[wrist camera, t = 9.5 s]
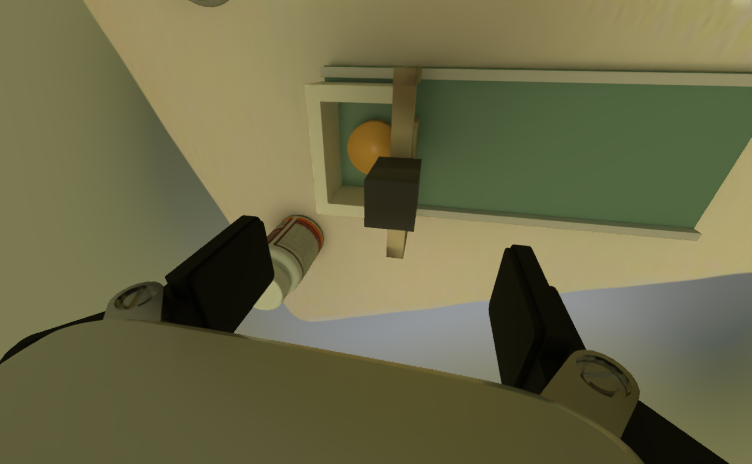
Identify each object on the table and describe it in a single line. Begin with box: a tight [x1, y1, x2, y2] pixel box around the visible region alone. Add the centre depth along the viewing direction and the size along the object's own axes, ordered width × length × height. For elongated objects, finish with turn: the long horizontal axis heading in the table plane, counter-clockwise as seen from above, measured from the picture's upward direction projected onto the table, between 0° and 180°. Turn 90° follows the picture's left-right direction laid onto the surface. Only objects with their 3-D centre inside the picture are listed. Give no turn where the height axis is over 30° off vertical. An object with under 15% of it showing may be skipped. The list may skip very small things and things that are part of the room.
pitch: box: [304, 66, 752, 241], centre depth 26 cm, size 14×36×6 cm, turn 90°
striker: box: [364, 67, 422, 259], centre depth 23 cm, size 14×3×14 cm, turn 0°
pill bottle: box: [253, 216, 323, 310], centre depth 34 cm, size 6×6×11 cm
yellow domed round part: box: [347, 119, 391, 175], centre depth 29 cm, size 5×5×2 cm
